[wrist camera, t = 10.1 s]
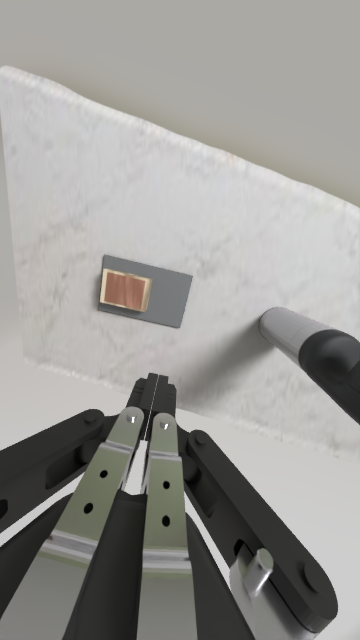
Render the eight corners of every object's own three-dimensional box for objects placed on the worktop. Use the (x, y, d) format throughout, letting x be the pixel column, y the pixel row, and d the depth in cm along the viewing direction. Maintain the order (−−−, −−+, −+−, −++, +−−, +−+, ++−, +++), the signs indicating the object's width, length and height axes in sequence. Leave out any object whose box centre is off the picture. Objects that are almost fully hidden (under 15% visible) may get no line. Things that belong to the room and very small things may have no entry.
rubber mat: (192, 275, 45) (192, 276, 45) (179, 327, 49) (179, 328, 49) (105, 254, 44) (104, 254, 44) (99, 309, 48) (98, 309, 48)
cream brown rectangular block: (150, 279, 42) (103, 268, 42) (144, 312, 45) (99, 302, 44) (152, 279, 45) (108, 268, 45) (146, 309, 47) (104, 299, 47)
